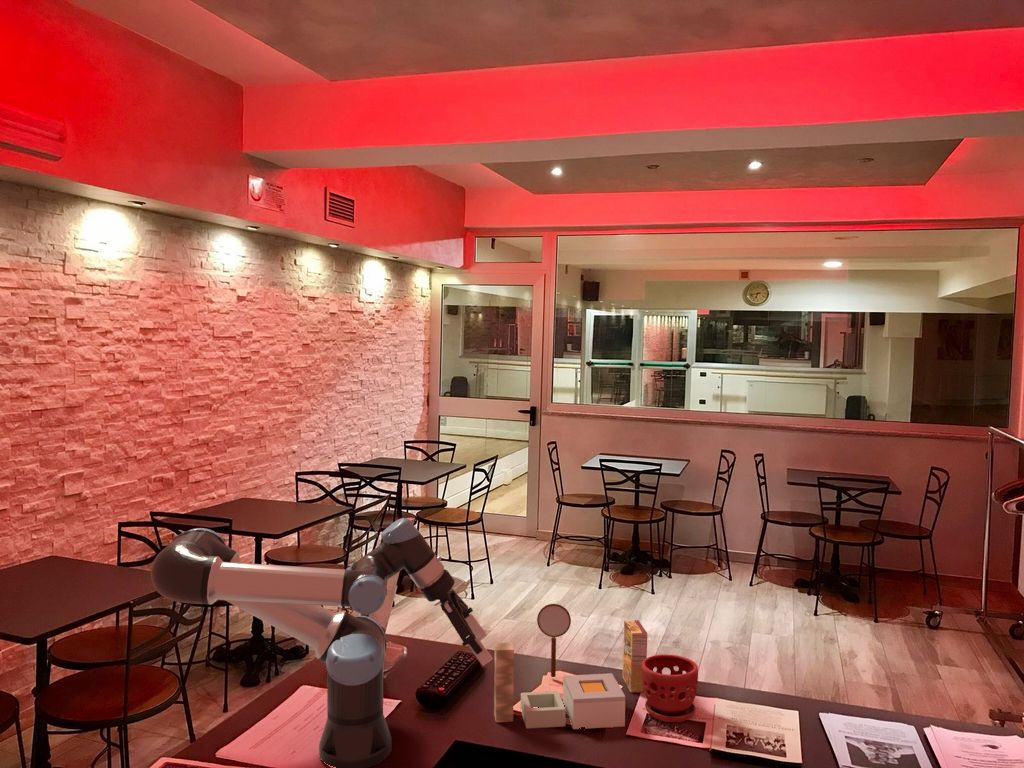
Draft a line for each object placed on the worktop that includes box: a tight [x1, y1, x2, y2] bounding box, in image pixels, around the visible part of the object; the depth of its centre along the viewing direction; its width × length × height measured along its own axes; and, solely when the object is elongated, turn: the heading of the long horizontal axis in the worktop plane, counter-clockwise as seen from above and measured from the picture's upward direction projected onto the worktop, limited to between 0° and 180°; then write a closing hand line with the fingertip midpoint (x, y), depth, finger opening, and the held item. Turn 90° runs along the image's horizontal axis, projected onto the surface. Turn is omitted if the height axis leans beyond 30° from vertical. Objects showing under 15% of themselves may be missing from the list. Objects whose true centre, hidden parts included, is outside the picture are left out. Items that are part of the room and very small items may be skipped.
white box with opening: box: [562, 672, 626, 730], centre depth 183 cm, size 12×12×7 cm
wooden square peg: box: [493, 642, 515, 723], centre depth 181 cm, size 4×4×17 cm
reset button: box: [581, 683, 606, 692], centre depth 183 cm, size 5×5×3 cm
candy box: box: [622, 619, 648, 694], centre depth 198 cm, size 9×4×15 cm, turn 6°
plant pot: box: [641, 653, 699, 723], centre depth 184 cm, size 13×13×12 cm
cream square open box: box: [520, 690, 566, 729], centre depth 182 cm, size 9×9×4 cm
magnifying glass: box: [536, 603, 572, 678], centre depth 201 cm, size 9×2×20 cm, turn 85°
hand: (485, 649), depth 182 cm, fingers open, 13 cm apart
